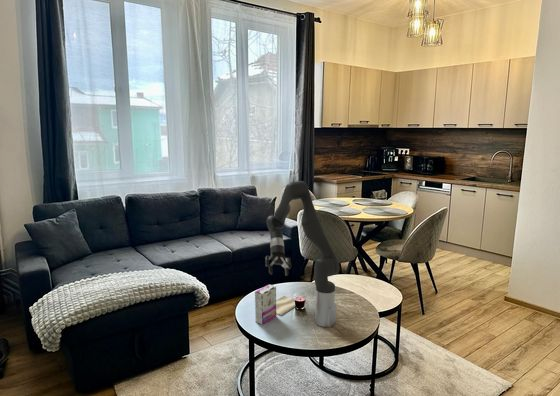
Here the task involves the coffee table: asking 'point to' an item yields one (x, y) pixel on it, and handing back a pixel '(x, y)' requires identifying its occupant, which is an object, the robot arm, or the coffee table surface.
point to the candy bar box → (265, 304)
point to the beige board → (284, 305)
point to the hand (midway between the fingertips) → (279, 274)
